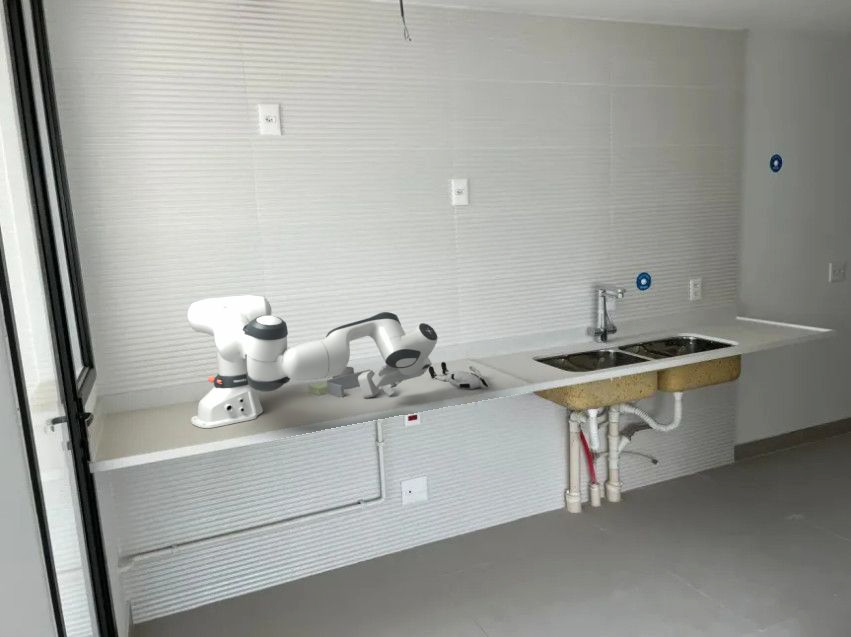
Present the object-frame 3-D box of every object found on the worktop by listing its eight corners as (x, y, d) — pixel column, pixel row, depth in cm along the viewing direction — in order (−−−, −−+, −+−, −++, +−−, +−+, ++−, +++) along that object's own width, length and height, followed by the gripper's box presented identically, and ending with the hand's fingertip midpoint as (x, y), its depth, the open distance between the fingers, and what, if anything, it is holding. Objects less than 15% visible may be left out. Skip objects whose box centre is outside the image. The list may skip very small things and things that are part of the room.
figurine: (449, 359, 244) (500, 368, 219) (452, 374, 245) (503, 385, 220) (422, 368, 236) (472, 379, 212) (425, 384, 238) (475, 396, 213)
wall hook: (393, 397, 213) (384, 370, 212) (365, 404, 215) (357, 377, 214) (399, 391, 221) (390, 364, 220) (372, 397, 223) (364, 371, 222)
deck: (333, 399, 216) (331, 381, 215) (308, 391, 229) (307, 374, 228) (391, 384, 233) (390, 367, 232) (366, 377, 246) (364, 361, 245)
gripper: (387, 375, 195) (371, 400, 204) (435, 363, 208) (418, 386, 217) (378, 359, 198) (362, 384, 206) (426, 348, 211) (409, 372, 220)
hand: (391, 385), depth 212 cm, fingers closed
